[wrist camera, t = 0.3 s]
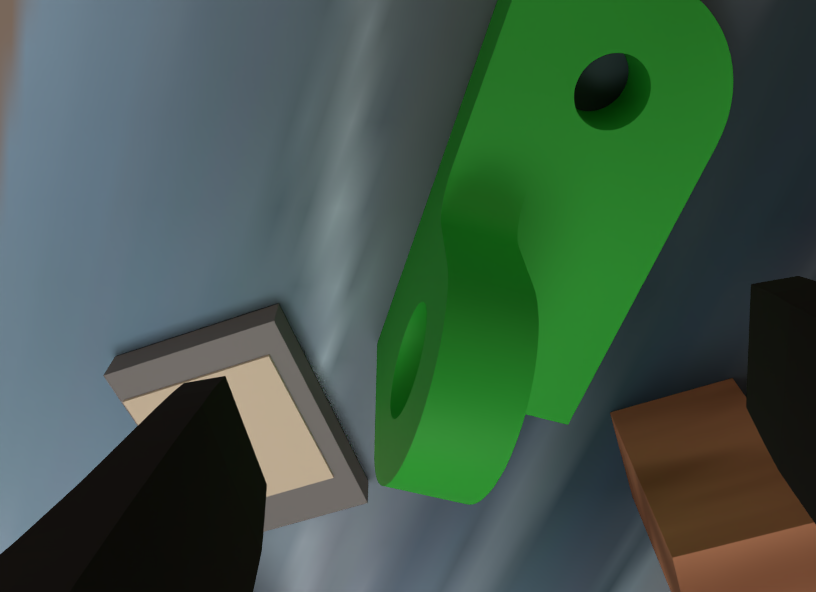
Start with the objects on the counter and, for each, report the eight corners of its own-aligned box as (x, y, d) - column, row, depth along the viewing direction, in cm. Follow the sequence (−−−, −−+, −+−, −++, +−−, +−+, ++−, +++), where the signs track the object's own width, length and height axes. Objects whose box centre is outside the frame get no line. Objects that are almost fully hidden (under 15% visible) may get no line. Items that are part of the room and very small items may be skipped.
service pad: (368, 481, 25) (367, 505, 24) (223, 522, 26) (217, 546, 25) (278, 303, 21) (273, 322, 20) (115, 356, 22) (102, 377, 21)
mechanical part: (554, 385, 23) (625, 592, 16) (377, 340, 22) (372, 540, 15) (744, 9, 18) (970, 79, 11) (521, -73, 17) (614, -52, 10)
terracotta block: (746, 466, 25) (841, 617, 20) (632, 496, 26) (695, 650, 20) (731, 377, 23) (832, 517, 18) (609, 412, 24) (672, 557, 19)
